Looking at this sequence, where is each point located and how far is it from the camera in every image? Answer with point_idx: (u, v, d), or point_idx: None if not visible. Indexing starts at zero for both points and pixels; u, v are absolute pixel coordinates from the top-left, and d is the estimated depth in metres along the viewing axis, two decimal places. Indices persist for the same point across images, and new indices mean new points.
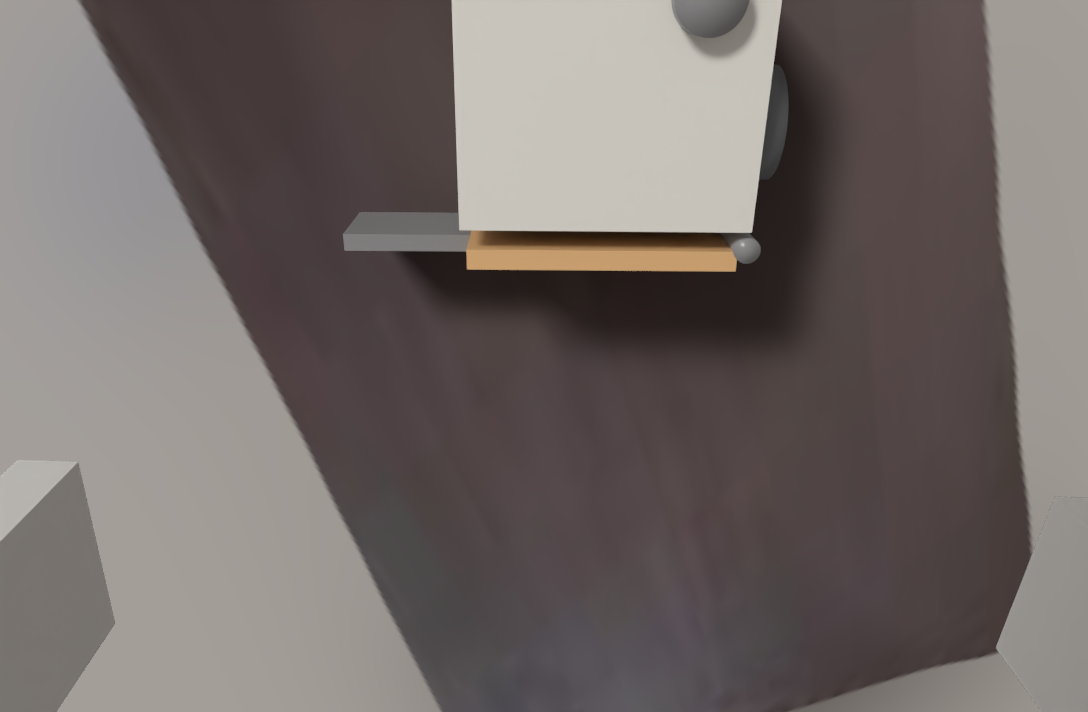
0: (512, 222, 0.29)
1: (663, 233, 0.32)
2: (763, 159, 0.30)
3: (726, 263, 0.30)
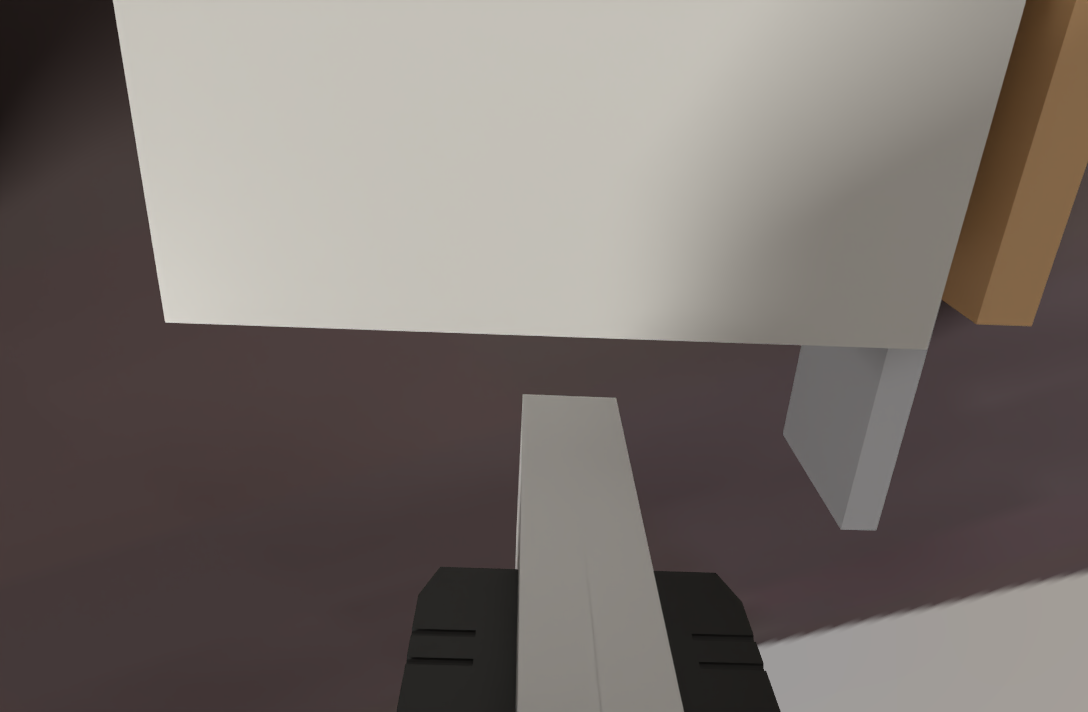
0: (944, 202, 0.10)
1: None
2: None
3: None
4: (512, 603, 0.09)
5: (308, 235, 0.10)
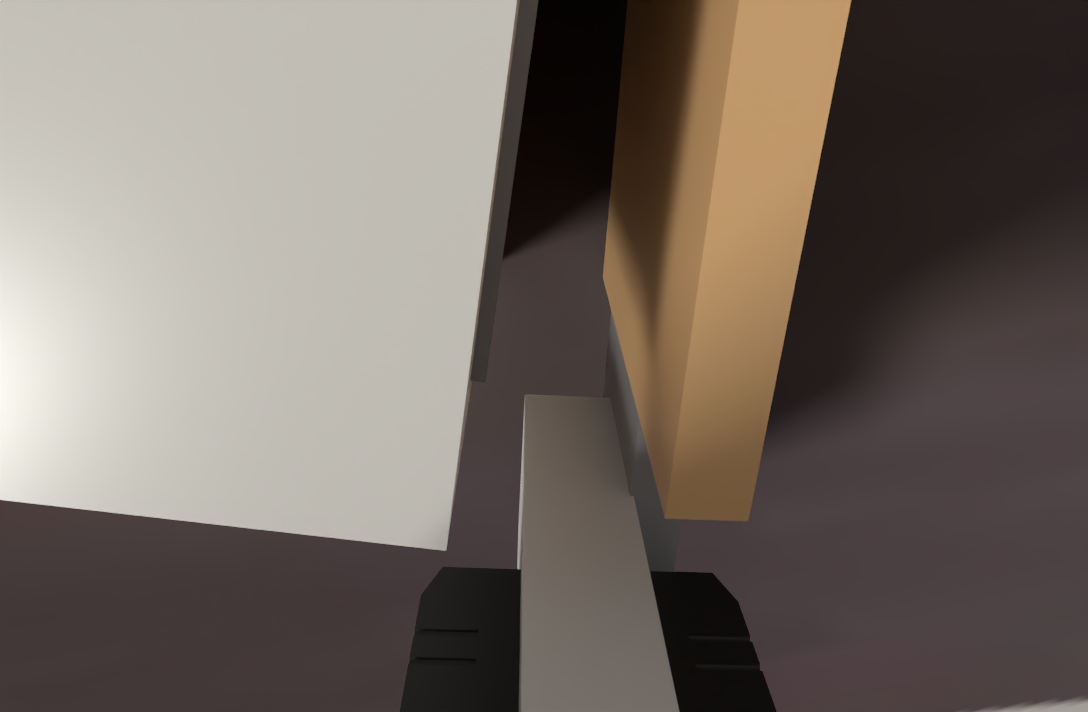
0: (431, 343, 0.06)
1: None
2: None
3: None
4: (516, 603, 0.09)
5: None
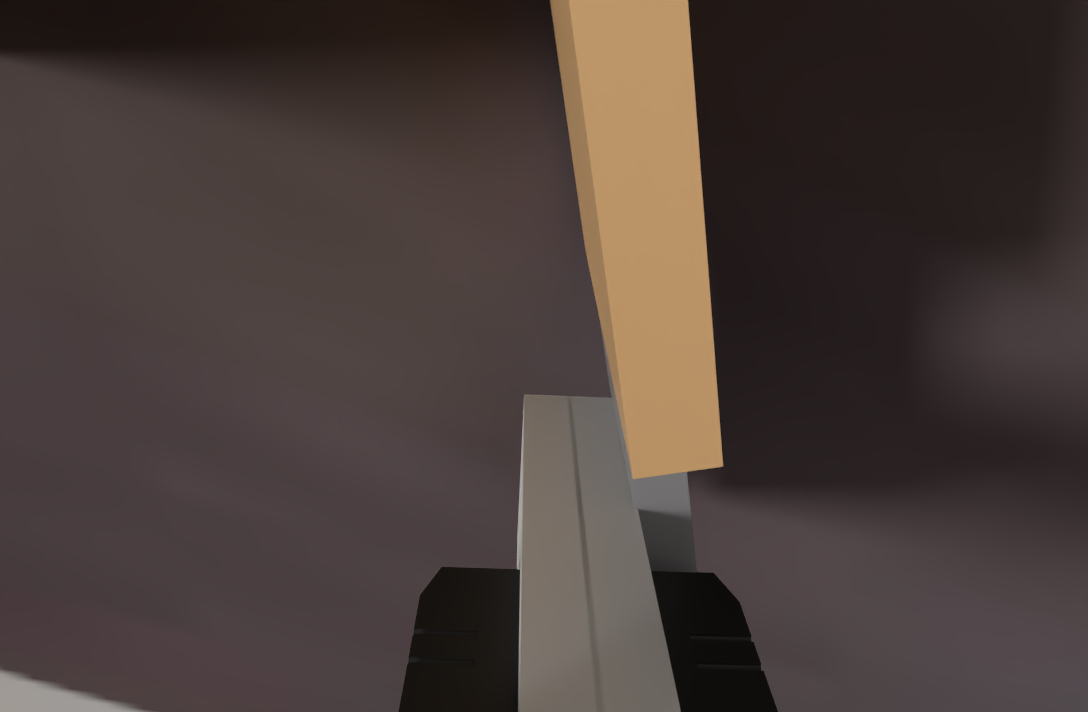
0: None
1: None
2: None
3: None
4: (515, 603, 0.09)
5: None
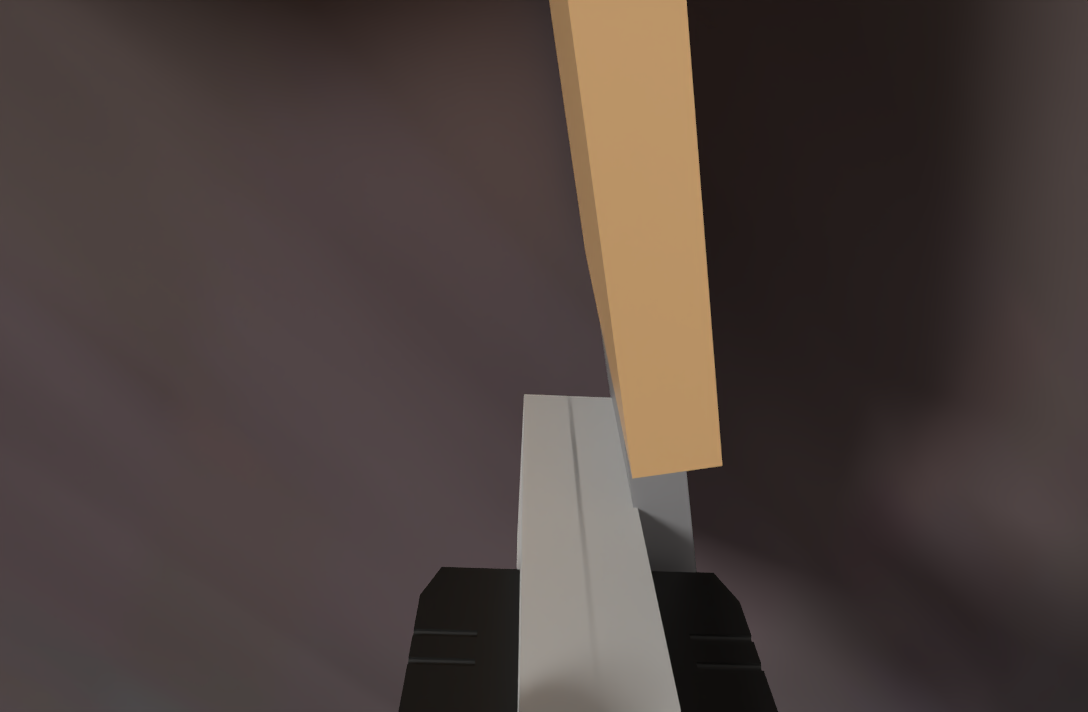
0: None
1: None
2: None
3: None
4: (515, 604, 0.09)
5: None
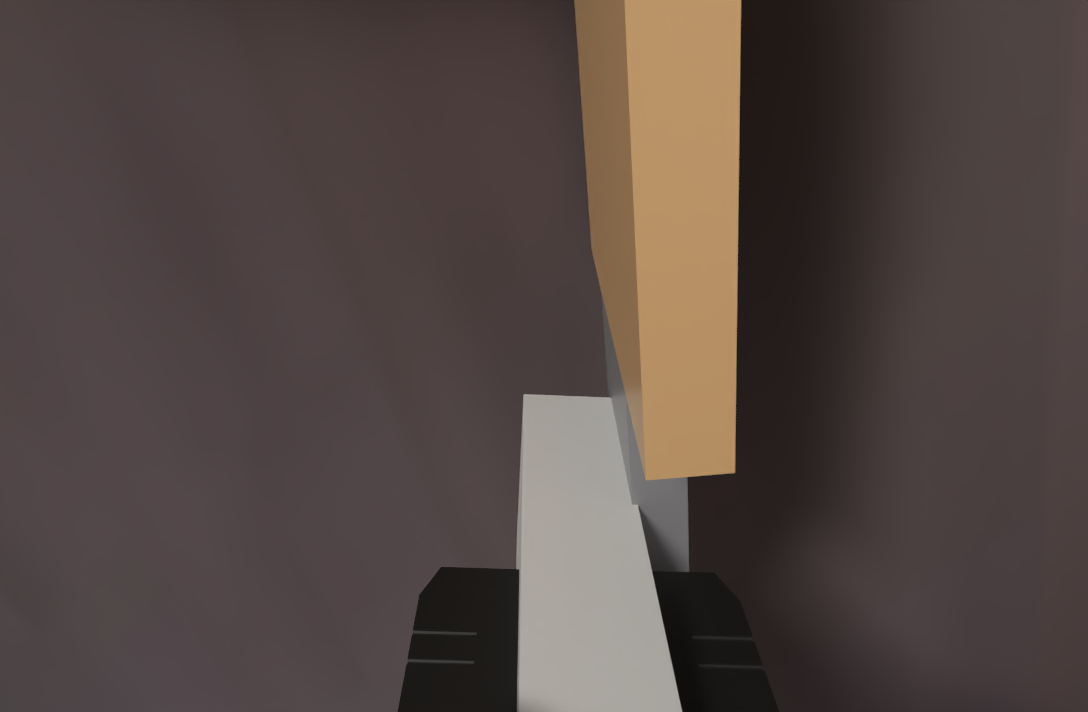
0: None
1: None
2: None
3: None
4: (514, 603, 0.09)
5: None
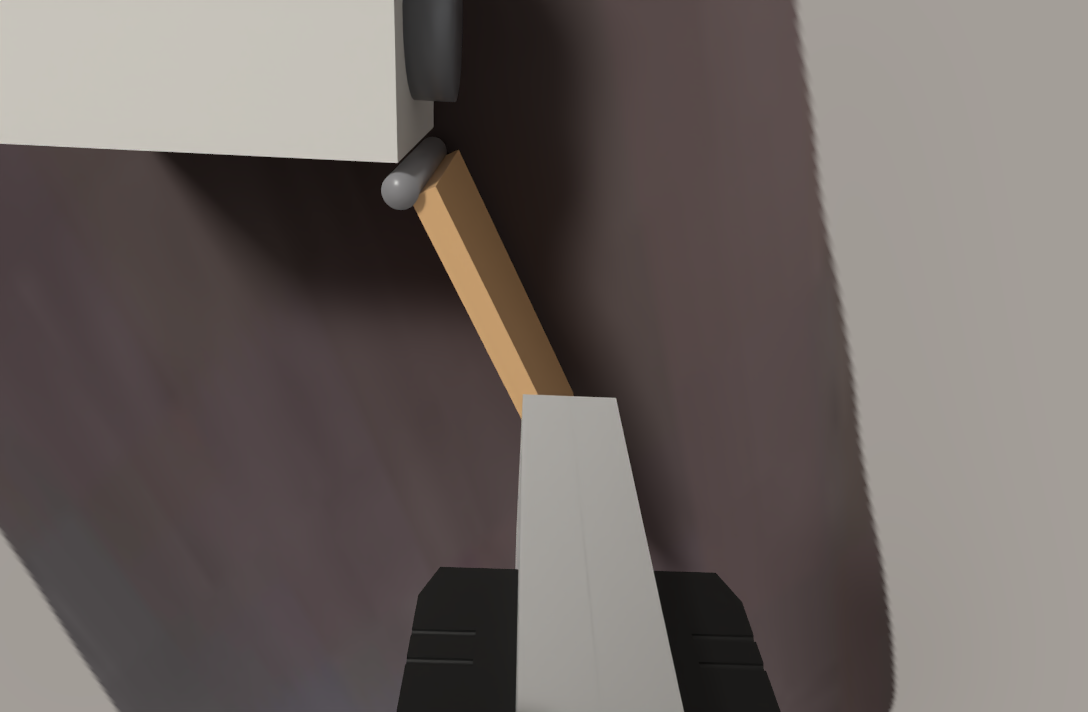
0: (46, 133, 0.20)
1: None
2: (425, 63, 0.21)
3: (431, 204, 0.21)
4: (512, 603, 0.09)
5: None
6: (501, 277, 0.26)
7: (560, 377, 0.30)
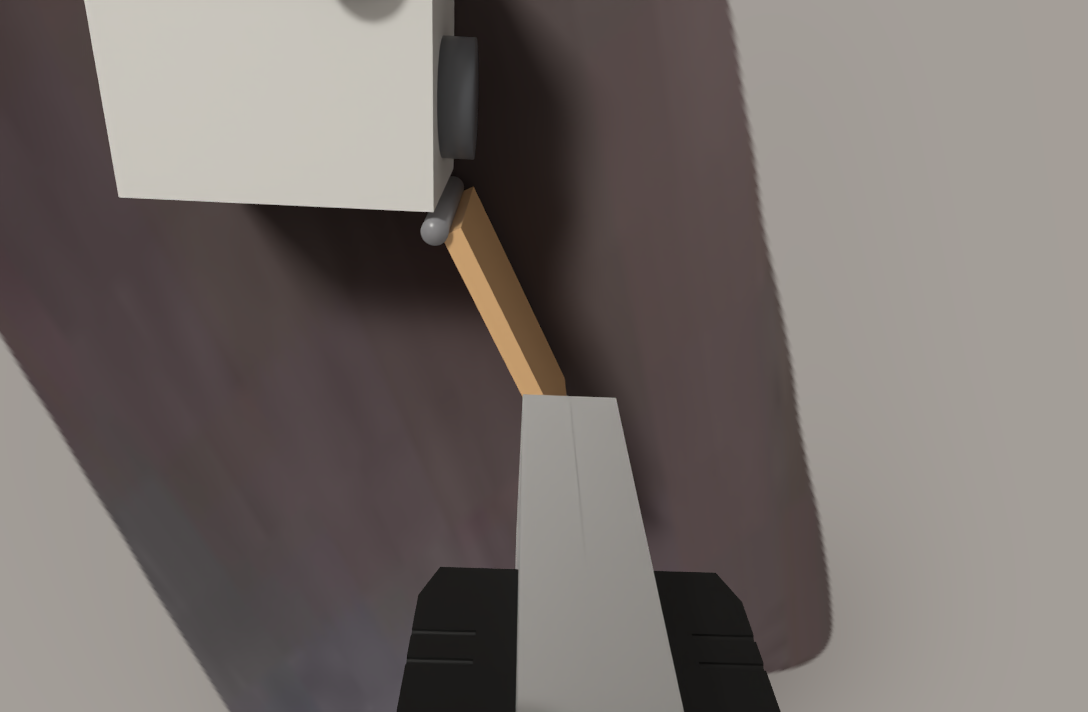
0: (174, 191, 0.27)
1: None
2: (453, 136, 0.28)
3: (457, 241, 0.29)
4: (513, 603, 0.09)
5: None
6: (508, 290, 0.33)
7: (554, 366, 0.37)
